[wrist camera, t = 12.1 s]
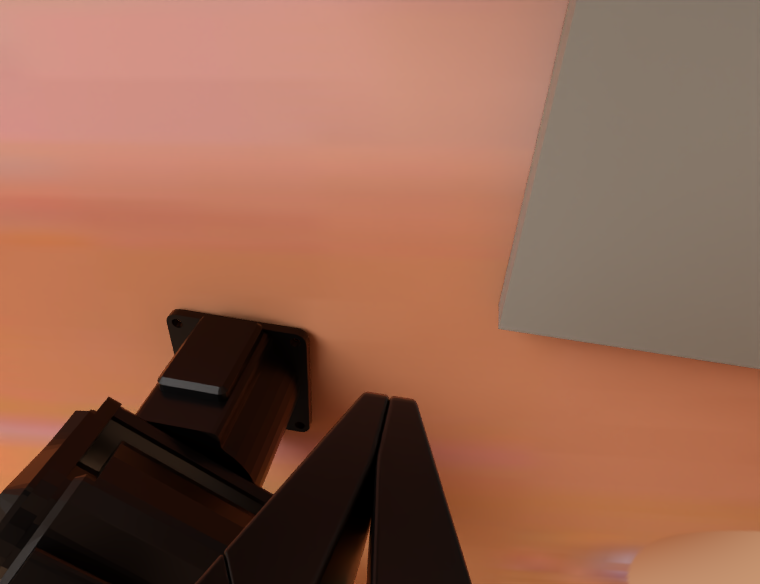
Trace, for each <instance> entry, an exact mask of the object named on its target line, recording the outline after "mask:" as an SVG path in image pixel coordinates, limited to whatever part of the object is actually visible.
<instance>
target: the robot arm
mask: <svg viewBox="0 0 760 584" xmlns="http://www.w3.org/2000/svg"><path fill="white" fill-rule="evenodd" d="M177 319H178V320H177ZM179 320H180V321H181V322H180V321H179ZM167 325H168V329H169V333H170V338H171V342H172V346H173V351H174V357H173V358H172V359H171V361H170V362H169V364H168V365H167V366H166V368H165V369H164V371H163V372H162V374H161V375H160V376H159V378H158V383H157V384H156V386H155V387H154V389H153V390H152V392H151V393H150V394H149V396H148V397H147V399H146V400H145V401H144V403H143V404H142V406H141V407H140V409H139V410H138V411H137V413H136V414H133V413H131V412H130V411H128V410H126V409H124V408H123V407H121V405H122V404H121V403H119V402H117V401H116V400H114V399H112V398H110V397H108V398H107V399H106V401H105V402H104V403H103V404H102V406H101V407H100V408H99V409H98V411H95V410H90V411H75V412H74V414H73V415H72V416H71V417H70V418H69V420H68V421H67V422H66V423H65V425H64V426H63V427H62V428H61V429H60V431H59V432H58V433H57V434H56V435H55V437H54V438H53V439H52V440H51V441H50V442H49V444H48V445H47V446H46V447H45V448H44V449H43V450H42V451H41V452H40V453H39V454H38V455H37V456H36V457H35V458H34V459H33V460H32V461H31V463H30V464H29V465H28V466H27V467H26V468H25V469H24V470H23V471H22V472H21V473H20V474H19V475H18V476H17V477H16V478H15V479H14V480H13V481H12V482H11V483H10V484H9V485H8V486H7V487H6V488H5V489H4V490H3V492H2V493H1V494H0V584H353V583H354V580H355V577H356V573H357V570H358V567H359V563H360V560H361V557H362V554H363V550H364V547H365V543H366V540H367V536H368V532H369V528H370V537H369V549H368V567H367V584H472V583H471V579H470V576H469V573H468V570H467V566H466V563H465V560H464V556H463V553H462V550H461V547H460V543H459V540H458V537H457V533H456V530H455V527H454V524H453V520H452V517H451V514H450V510H449V507H448V504H447V500H446V497H445V494H444V491H443V487H442V484H441V481H440V477H439V474H438V471H437V468H436V464H435V461H434V458H433V454H432V451H431V448H430V445H429V441H428V438H427V435H426V431H425V428H424V425H423V422H422V418H421V415H420V412H419V408H418V405H417V403H416V401H415V400H413V399H409V398H402V397H396V396H393V397H391V398H390V400H389V397H388V396H387V395H384V394H378V393H372V392H365V393H363V394H362V395H361V396H360V397H359V398H358V399H357V401H356V402H355V403H354V404H353V405H352V406H351V407H350V409H349V410H348V411H347V412H346V413H345V414H344V415H343V416H342V418H341V419H340V420H339V421H338V422H337V423H336V424H335V426H334V427H333V428H332V429H331V430H330V431H329V432H328V434H327V435H326V436H325V437H324V438H323V439H322V440H321V441H320V443H319V444H318V445H317V446H316V447H315V448H314V449H313V451H312V452H311V453H310V454H309V455H308V456H307V457H306V458H305V460H304V461H303V462H302V463H301V464H300V465H299V466H298V468H297V469H296V470H295V471H294V472H293V473H292V474H291V476H290V477H289V478H288V479H287V480H286V481H285V482H284V483H283V485H282V486H281V487H280V488H279V489H278V490H277V491H276V493H275V494H274V495H273V494H271V493H270V492H268V491H266V490H265V489H263V488H262V486H263V483H264V481H265V479H266V476H267V474H268V471H269V469H270V466H271V464H272V461H273V459H274V456H275V454H276V451H277V449H278V446H279V444H280V441H281V439H282V437H283V434H284V432H285V429H288V430H293V431H299V432H305V431H308V430H309V428H310V425H311V422H312V412H311V382H310V352H309V337H308V335H307V333H306V332H305V331H303V330H301V329H298V328H292V327H286V326H280V325H274V324H267V323H261V322H255V321H249V320H243V319H236V318H230V317H224V316H218V315H212V314H205V313H199V312H193V311H187V310H181V309H175V310H173V311H172V312H171V313H170V315H169V316H168V317H167ZM294 338H295V339H298V340H299V341H296V340H295V339H294ZM370 523H371V525H370Z"/></svg>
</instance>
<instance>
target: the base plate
mask: <svg viewBox="0 0 760 584" xmlns="http://www.w3.org/2000/svg"><path fill="white" fill-rule="evenodd" d="M499 329H503V330H509V331H516V332H522V333H529V334H535V335H542V336H548V337H555V338H561V339H568V340H574V341H581V342H587V343H593V344H600V345H606V346H613V347H619V348H626V349H632V350H639V351H645V352H652V353H658V354H665V355H671V356H677V357H684V358H690V359H697V360H703V361H710V362H716V363H723V364H729V365H736V366H742V367H749V368H755V369H760V0H569V3H568V7H567V12H566V16H565V20H564V25H563V29H562V33H561V38H560V42H559V46H558V51H557V55H556V59H555V63H554V68H553V72H552V76H551V81H550V85H549V89H548V94H547V98H546V102H545V107H544V111H543V115H542V120H541V124H540V128H539V133H538V137H537V141H536V146H535V150H534V154H533V159H532V163H531V167H530V172H529V176H528V180H527V185H526V189H525V193H524V198H523V202H522V206H521V211H520V215H519V219H518V224H517V228H516V232H515V237H514V241H513V245H512V250H511V254H510V258H509V263H508V267H507V271H506V276H505V280H504V284H503V289H502V293H501V297H500V302H499Z"/></svg>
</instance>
